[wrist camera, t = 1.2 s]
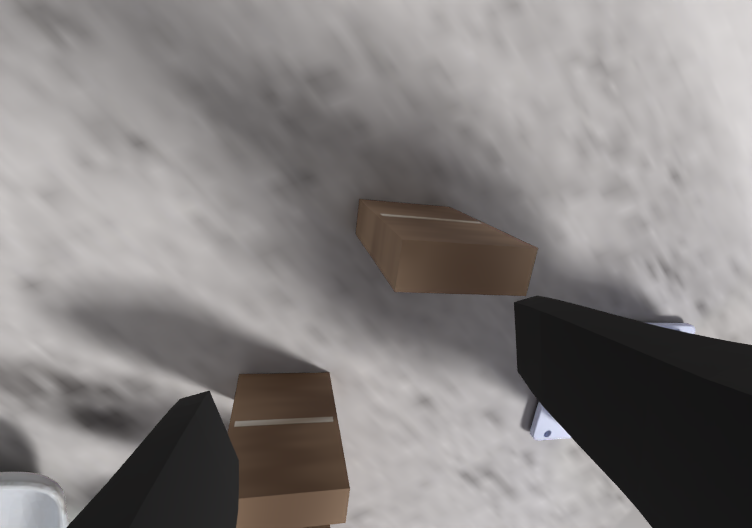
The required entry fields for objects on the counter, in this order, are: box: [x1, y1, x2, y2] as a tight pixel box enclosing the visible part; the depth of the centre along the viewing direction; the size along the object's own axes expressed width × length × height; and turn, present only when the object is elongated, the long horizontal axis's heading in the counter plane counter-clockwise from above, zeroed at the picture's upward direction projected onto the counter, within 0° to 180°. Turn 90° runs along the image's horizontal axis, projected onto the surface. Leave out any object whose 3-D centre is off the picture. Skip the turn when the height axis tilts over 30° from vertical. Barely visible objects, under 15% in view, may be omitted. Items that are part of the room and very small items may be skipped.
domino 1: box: [228, 372, 350, 528], centre depth 16 cm, size 4×2×7 cm, turn 83°
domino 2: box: [356, 199, 538, 296], centre depth 15 cm, size 4×2×7 cm, turn 83°
